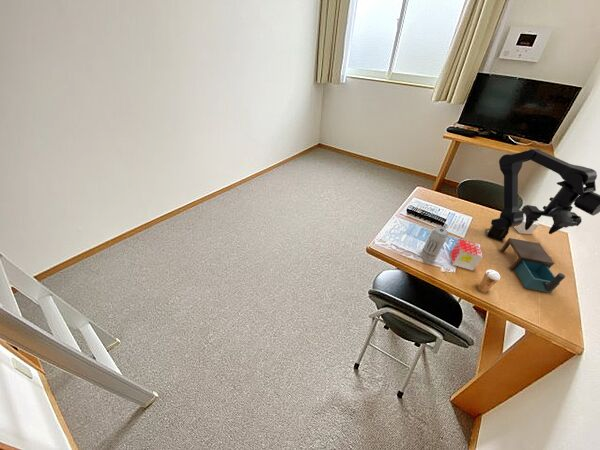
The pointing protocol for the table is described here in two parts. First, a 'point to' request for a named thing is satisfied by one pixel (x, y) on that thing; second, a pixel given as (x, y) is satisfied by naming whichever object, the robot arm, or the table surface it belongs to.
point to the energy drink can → (434, 244)
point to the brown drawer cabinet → (527, 252)
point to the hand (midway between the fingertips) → (537, 231)
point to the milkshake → (488, 280)
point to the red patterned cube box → (466, 254)
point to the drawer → (538, 276)
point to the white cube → (521, 227)
